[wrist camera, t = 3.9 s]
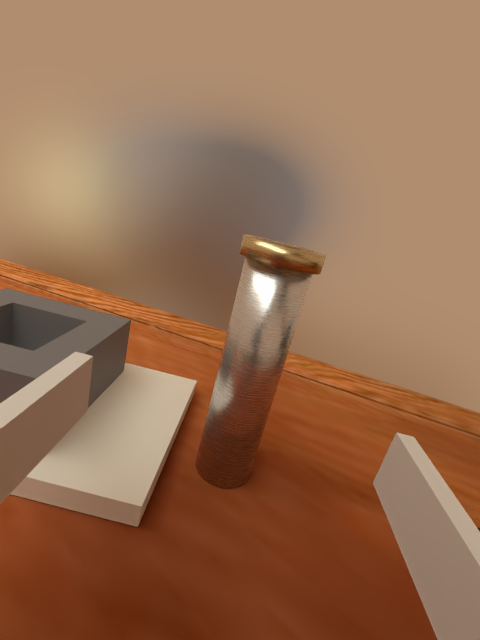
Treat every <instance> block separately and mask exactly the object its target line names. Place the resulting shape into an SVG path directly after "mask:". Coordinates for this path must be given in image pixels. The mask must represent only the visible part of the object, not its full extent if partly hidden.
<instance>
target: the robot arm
mask: <svg viewBox="0 0 480 640" xmlns="http://www.w3.org/2000/svg"><path fill="white" fill-rule="evenodd" d="M92 363H93V356H91V355H87V354H83V353H79V352H74V353H73V354H71V355H70V356H68V357H67V358H65V359H64V360H63V361H61V362H60V363H58V364H57V365H55V366H54V367H52V368H51V369H50V370H48V371H47V372H45V373H44V374H42V375H41V376H39V377H38V378H36V379H35V380H34V381H32V382H31V383H29V384H28V385H26V386H25V387H23V388H22V389H20V390H19V391H18V392H16V393H15V394H13V395H12V396H10V397H9V398H7V399H6V400H5V401H3V402H2V403H0V504H1V503H2V502H3V501H4V500H5V499H6V498H7V497H8V496H9V495H10V493H11V492H12V491H13V490H14V489H15V488H16V487H17V486H18V485H19V484H20V483H21V482H22V481H23V480H24V478H25V477H26V476H27V475H28V474H29V473H30V472H31V471H32V470H33V469H34V468H35V467H36V466H37V465H38V463H39V462H40V461H41V460H42V459H43V458H44V457H45V456H46V455H47V454H48V453H49V452H50V451H51V450H52V448H53V447H54V446H55V445H56V444H57V443H58V442H59V441H60V440H61V439H62V438H63V437H64V436H65V435H66V433H67V432H68V431H69V430H70V429H71V428H72V427H73V426H74V425H75V424H76V423H77V422H78V421H79V420H80V418H81V417H82V416H83V415H84V414H85V413H86V412H87V411H88V401H89V392H90V382H91V373H92ZM373 485H374V487H375V490H376V492H377V494H378V497H379V499H380V502H381V504H382V506H383V509H384V511H385V514H386V516H387V519H388V521H389V523H390V526H391V528H392V531H393V533H394V536H395V538H396V540H397V543H398V545H399V548H400V550H401V552H402V555H403V557H404V560H405V562H406V565H407V567H408V569H409V572H410V574H411V577H412V579H413V582H414V584H415V586H416V589H417V591H418V594H419V596H420V598H421V601H422V603H423V606H424V608H425V611H426V613H427V615H428V618H429V620H430V623H431V625H432V628H433V630H434V632H435V635H436V637H437V640H480V528H477V527H476V526H475V524H474V523H473V521H472V520H471V518H470V517H469V516H468V514H467V513H466V511H465V510H464V508H463V507H462V505H461V504H460V503H459V501H458V500H457V498H456V497H455V495H454V494H453V492H452V491H451V490H450V488H449V487H448V485H447V484H446V482H445V481H444V479H443V478H442V477H441V475H440V474H439V472H438V471H437V469H436V468H435V466H434V465H433V464H432V462H431V461H430V459H429V458H428V456H427V455H426V453H425V452H424V451H423V449H422V448H421V446H420V445H419V443H418V442H417V440H416V439H415V438H414V437H412V436H409V435H405V434H401V433H397V432H396V434H395V436H394V439H393V441H392V443H391V445H390V447H389V449H388V451H387V454H386V456H385V458H384V460H383V462H382V464H381V466H380V468H379V471H378V473H377V475H376V477H375V479H374V481H373Z"/></svg>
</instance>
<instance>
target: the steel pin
mask: <svg viewBox="0 0 480 640" xmlns="http://www.w3.org/2000/svg"><path fill="white" fill-rule="evenodd" d="M240 254H242V255H244V256H246V257H245V261H244V265H243V270H242V274H241V278H240V282H239V286H238V290H237V294H236V299H235V302H234V307H233V311H232V315H231V319H230V323H229V327H228V331H227V335H226V339H225V344H224V348H223V352H222V356H221V360H220V364H219V368H218V372H217V376H216V381H215V385H214V389H213V393H212V397H211V401H210V405H209V409H208V413H207V418H206V422H205V426H204V430H203V434H202V438H201V442H200V446H199V450H198V455H197V459H196V467H197V470H198V472H199V474H200V475H201V476H202V478H203V479H204V480H206V481H207V482H208V483H210V484H212V485H214V486H217V487H220V488H236V487H239V486H241V485H243V484H244V483H245V482H246V481H247V480H248V478H249V476H250V473H251V469H252V466H253V463H254V460H255V457H256V453H257V450H258V447H259V444H260V441H261V438H262V434H263V431H264V428H265V425H266V422H267V418H268V415H269V412H270V409H271V406H272V402H273V399H274V396H275V393H276V390H277V386H278V383H279V380H280V377H281V374H282V370H283V367H284V364H285V361H286V358H287V355H288V351H289V348H290V345H291V342H292V338H293V335H294V332H295V329H296V326H297V323H298V319H299V316H300V313H301V310H302V307H303V303H304V300H305V297H306V294H307V291H308V287H309V284H310V281H311V278H312V275H313V274H320V273H321V270H322V267H323V264H324V261H325V257H326V255H323V254H321V253H318V252H314V251H311V250H308V249H305V248H301V247H297V246H294V245H290V244H287V243H282V242H279V241H275V240H270V239H266V238H262V237H257V236H252V235H244V236H243V240H242V244H241V249H240Z"/></svg>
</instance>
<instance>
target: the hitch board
mask: <svg viewBox="0 0 480 640" xmlns="http://www.w3.org/2000/svg"><path fill="white" fill-rule="evenodd" d="M130 323H131V320H129V319H125V318H122V317H118V316H114V315H110V314H106V313H102V312H98V311H94V310H90V309H86V308H82V307H78V306H74V305H71V304H67V303H63V302H59V301H55V300H51V299H47V298H43V297H39V296H35V295H31V294H27V293H24V292H20V291H16V290H12V289H8V288H6V289H2V290H0V403H2V402H3V401H5V400H6V399H7V398H9V397H10V396H12V395H13V394H15V393H16V392H18V391H19V390H20V389H22V388H23V387H25V386H26V385H28V384H29V383H31V382H32V381H34V380H35V379H36V378H38V377H39V376H41V375H42V374H44V373H45V372H47V371H48V370H50V369H51V368H52V367H54V366H55V365H57V364H58V363H60V362H61V361H63V360H64V359H65V358H67V357H68V356H70V355H71V354H73V353H74V352H79V353H83V354H87V355H91V356H93V363H92V373H91V382H90V392H89V401H88V411H87V412H86V413H85V414H84V415H83V416H82V417H81V418H80V420H79V421H78V422H77V423H76V424H75V425H74V426H73V427H72V428H71V429H70V430H69V431H68V432H67V433H66V435H65V436H64V437H63V438H62V439H61V440H60V441H59V442H58V443H57V444H56V445H55V446H54V447H53V448H52V450H51V451H50V452H49V453H48V454H47V455H46V456H45V457H44V458H43V459H42V460H41V461H40V462H39V463H38V465H37V466H36V467H35V468H34V469H33V470H32V471H31V472H30V473H29V474H28V475H27V476H26V477H25V478H24V480H23V481H22V482H21V483H20V484H19V485H18V486H17V487H16V488H15V489H14V490H13V491H12V492H11V493H10V494H11V495H15V496H19V497H23V498H27V499H31V500H35V501H38V502H42V503H46V504H50V505H54V506H58V507H62V508H66V509H69V510H73V511H77V512H81V513H85V514H89V515H93V516H96V517H100V518H104V519H108V520H112V521H116V522H120V523H124V524H127V525H131V526H135V527H138V526H139V523H140V521H141V519H142V516H143V514H144V511H145V509H146V507H147V504H148V502H149V500H150V497H151V495H152V492H153V490H154V488H155V485H156V483H157V481H158V478H159V476H160V473H161V471H162V469H163V466H164V464H165V462H166V459H167V457H168V454H169V452H170V450H171V447H172V445H173V443H174V440H175V438H176V436H177V433H178V431H179V428H180V426H181V424H182V421H183V419H184V417H185V414H186V412H187V409H188V407H189V405H190V402H191V400H192V398H193V395H194V391H195V387H196V382H197V381H195V380H191V379H187V378H183V377H179V376H176V375H172V374H168V373H164V372H160V371H156V370H152V369H148V368H144V367H140V366H137V365H133V364H129V363H125V358H126V351H127V344H128V337H129V330H130Z"/></svg>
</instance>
